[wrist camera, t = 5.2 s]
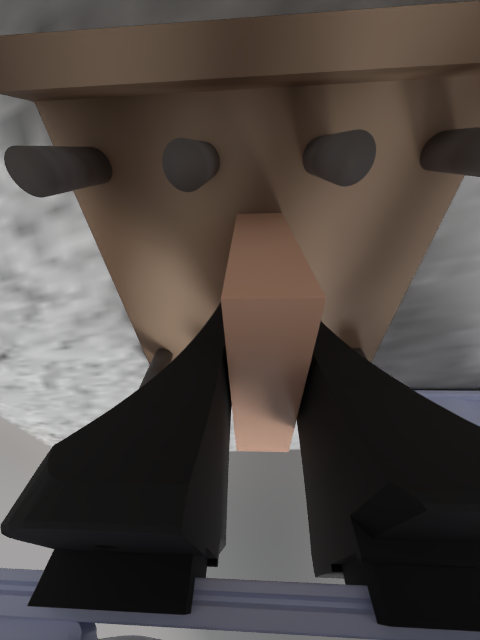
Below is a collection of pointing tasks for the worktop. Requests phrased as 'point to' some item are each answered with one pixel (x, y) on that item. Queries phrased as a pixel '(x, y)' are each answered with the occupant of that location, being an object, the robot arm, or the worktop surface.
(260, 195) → the rack
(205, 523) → the robot arm
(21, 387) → the worktop surface
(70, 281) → the worktop surface
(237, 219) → the pink square slab
